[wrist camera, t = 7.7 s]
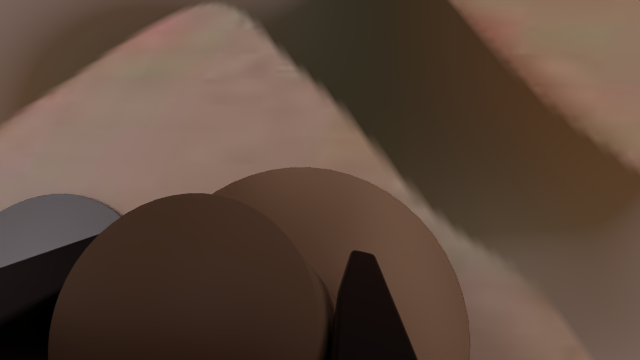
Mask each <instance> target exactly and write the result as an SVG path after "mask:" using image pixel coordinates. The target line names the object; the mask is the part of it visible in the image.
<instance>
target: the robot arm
mask: <svg viewBox="0 0 640 360" xmlns="http://www.w3.org/2000/svg"><path fill="white" fill-rule="evenodd" d="M98 235H99V234H97V235H94V236H91V237H89V238H86V239H83V240H80V241H77V242H74V243H71V244H68V245H65V246H62V247H59V248H56V249H54V250H51V251H48V252H45V253H42V254H39V255H36V256H33V257H30V258H27V259H24V260H21V261H19V262H16V263H13V264H10V265H7V266H4V267H1V268H0V360H48V343H49V331H50V326H51V321H52V316H53V312H54V309H55V306H56V302H57V299H58V296H59V294H60V291H61V289H62V287H63V285H64V283H65V280H66V278H67V276H68V275H69V273H70V271H71V270H72V268H73V266H74V264H75V263H76V261H77V260H78V259H79V257H80V256H81V255H82V253H83V252H84V251H85V249H86V248H87V247H88V246H89V245H90V244H91V242H92V241H93V240H94V239H95V238H96V237H97V236H98ZM327 360H418V358H417V356H416V354H415V351H414V349H413V346H412V344H411V341H410V339H409V337H408V334H407V332H406V329H405V327H404V325H403V322H402V320H401V317H400V315H399V312H398V310H397V308H396V305H395V303H394V300H393V298H392V296H391V293H390V291H389V288H388V286H387V283H386V281H385V279H384V276H383V274H382V271H381V269H380V267H379V264H378V262H377V259H376V257H375V256H374V255H373V254H371V253H366V252H362V251H357V250H353V251H352V252H351V253H350V256H349V259H348V262H347V265H346V268H345V271H344V274H343V277H342V280H341V283H340V286H339V290H338V295H337V302H336V308H335V314H334V321H333V327H332V334H331V340H330V347H329V353H328V359H327Z"/></svg>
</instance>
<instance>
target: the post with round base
mask: <svg viewBox="0 0 640 360" xmlns="http://www.w3.org/2000/svg"><path fill="white" fill-rule="evenodd" d="M353 250H357V251H362V252H366V253H371V254H373V255H374V256H375V257H376V259H377V262H378V264H379V267H380V269H381V271H382V274H383V276H384V279H385V281H386V283H387V286H388V288H389V291H390V293H391V296H392V298H393V300H394V303H395V305H396V308H397V310H398V312H399V315H400V317H401V320H402V322H403V325H404V327H405V329H406V332H407V334H408V337H409V339H410V341H411V344H412V346H413V349H414V351H415V354H416V356H417V358H418V360H470V335H469V322H468V316H467V311H466V307H465V302H464V297H463V294H462V291H461V288H460V285H459V282H458V279H457V276H456V274H455V272H454V270H453V267H452V265H451V263H450V261H449V259H448V257H447V255H446V253H445V252H444V250H443V249H442V247H441V246H440V244H439V243H438V241H437V239H436V238H435V236H434V235H433V234H432V233H431V231H430V230H429V229H428V228H427V227H426V225H425V224H424V223H423V222H422V221H421V220H420V218H419V217H418V216H416V215H415V214H414V213H413V212H412V211H411V210H410V209H409V208H408V207H407V206H406V205H404V204H403V203H402V202H400V201H399V200H398V199H396V198H395V197H393V196H392V195H391V194H389V193H388V192H386V191H385V190H383V189H381V188H379V187H377V186H375V185H373V184H371V183H370V182H367V181H365V180H362V179H360V178H357V177H354V176H352V175H349V174H345V173H341V172H337V171H333V170H327V169H319V168H310V167H308V168H284V169H276V170H270V171H266V172H262V173H258V174H254V175H251V176H248V177H246V178H243V179H241V180H238V181H236V182H233V183H231V184H229V185H227V186H226V187H224V188H222V189H220V190H218V191H216V192H215V193H213V194H204V193H189V194H180V195H173V196H168V197H165V198H161V199H157V200H154V201H152V202H149V203H146V204H144V205H141V206H139V207H137V208H136V209H134V210H132V211H130V212H128V213H126V214H125V215H123V216H122V217H120V218H119V219H117V220H116V221H115V222H113V223H112V224H110V225H109V226H108V227H107V228H106V229H105V230H104V231H102V232H101V233H100V234H99V235H98V236H97V237H96V238H95V239H94V240H93V241H92V242H91V244H90V245H89V246H88V247H87V248H86V249H85V251H84V252H83V253H82V255H81V256H80V257H79V259H78V260H77V261H76V263H75V264H74V266H73V268H72V270H71V271H70V273H69V275H68V276H67V278H66V280H65V283H64V285H63V287H62V289H61V291H60V294H59V296H58V299H57V302H56V306H55V309H54V312H53V316H52V321H51V326H50V331H49V343H48V360H327V359H328V353H329V347H330V340H331V334H332V327H333V321H334V314H335V308H336V302H337V295H338V290H339V286H340V283H341V280H342V277H343V274H344V271H345V268H346V265H347V262H348V259H349V256H350V253H351V252H352V251H353Z"/></svg>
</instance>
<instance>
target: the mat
mask: <svg viewBox="0 0 640 360" xmlns="http://www.w3.org/2000/svg"><path fill="white" fill-rule="evenodd" d="M120 217H122V216H120V215H119V214H118V213H117V212H115V211H114V210H112V209H111V208H109V207H108V206H106V205H104V204H102V203H99V202H97V201H95V200H93V199H90V198H86V197H82V196H78V195H71V194H51V195H43V196H38V197H34V198H31V199H27V200H24V201H22V202H19V203H17V204H14V205H12V206H10V207H8V208H7V209H5V210H3V211H1V212H0V268H1V267H4V266H7V265H10V264H13V263H16V262H19V261H21V260H24V259H27V258H30V257H33V256H36V255H39V254H42V253H45V252H48V251H51V250H54V249H56V248H59V247H62V246H65V245H68V244H71V243H74V242H77V241H80V240H83V239H86V238H89V237H91V236H94V235H97V234H100V233H101V232H102V231H104V230H105V229H106V228H107V227H108V226H109V225H110V224H112V223H113V222H115V221H116V220H117V219H119V218H120Z"/></svg>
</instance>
